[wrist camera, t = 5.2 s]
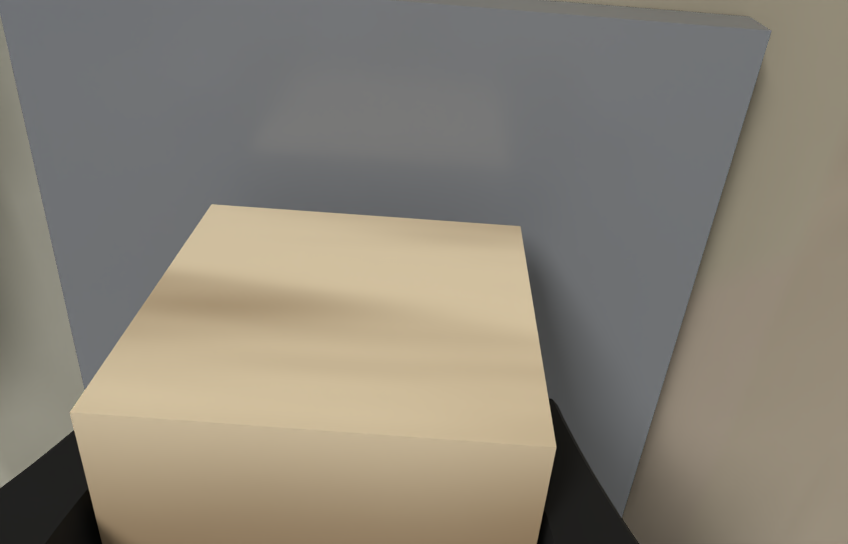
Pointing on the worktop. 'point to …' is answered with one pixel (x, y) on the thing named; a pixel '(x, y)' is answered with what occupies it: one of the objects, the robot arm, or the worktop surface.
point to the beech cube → (325, 388)
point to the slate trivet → (401, 154)
